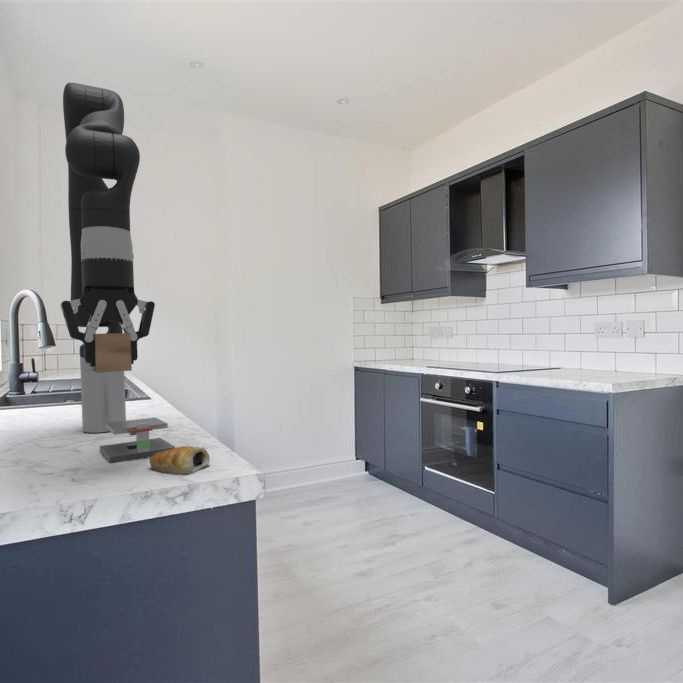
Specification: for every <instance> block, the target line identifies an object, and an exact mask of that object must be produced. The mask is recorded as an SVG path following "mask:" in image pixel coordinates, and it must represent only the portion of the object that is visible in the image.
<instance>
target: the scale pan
mask: <svg viewBox="0 0 683 683" xmlns="http://www.w3.org/2000/svg"><path fill="white" fill-rule="evenodd" d="M140 423H149V428H147V429H139V430H136V424H140ZM105 426H106V428H107V429H108V430H109V431H108V432H110V433H111V434H113V435H114V436H116V435H123V434H128V435H129V436H136V433H137V432H144V431H149V432H151V431H153V430H161V429H168V426H169V425H168V422H165V421H163V420H161V419H159V418H157V417H147V418H146V417H145V418H137V419H130V420H126V421H120V422H111V423H105Z"/></svg>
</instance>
